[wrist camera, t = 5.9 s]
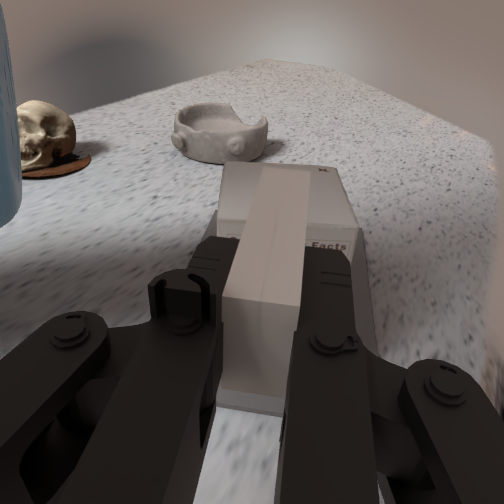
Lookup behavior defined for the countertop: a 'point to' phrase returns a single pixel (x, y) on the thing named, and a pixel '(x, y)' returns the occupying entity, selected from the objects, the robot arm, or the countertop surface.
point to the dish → (217, 134)
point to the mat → (362, 324)
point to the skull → (47, 140)
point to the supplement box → (319, 204)
